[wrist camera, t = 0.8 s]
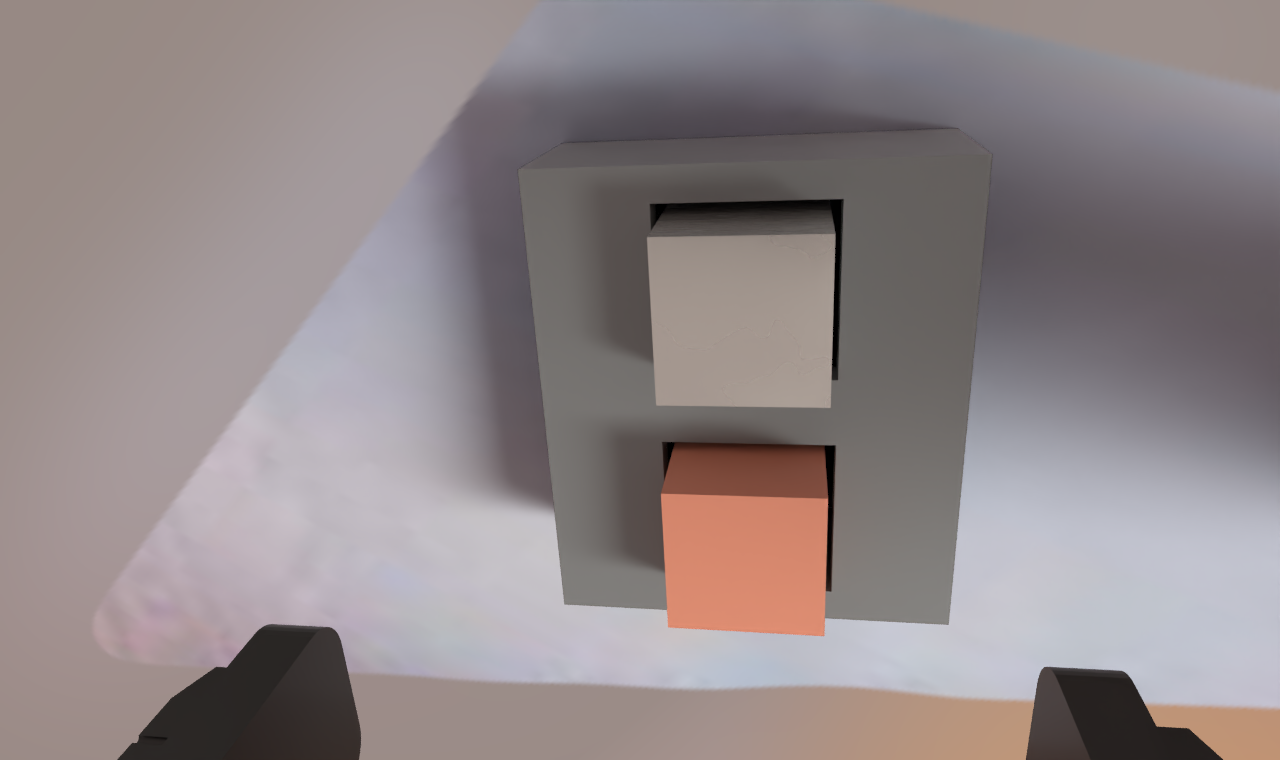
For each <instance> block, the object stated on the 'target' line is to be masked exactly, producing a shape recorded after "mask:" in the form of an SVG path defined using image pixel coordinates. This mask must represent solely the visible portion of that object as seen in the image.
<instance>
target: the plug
mask: <svg viewBox="0 0 1280 760" xmlns="http://www.w3.org/2000/svg"><path fill="white" fill-rule="evenodd" d="M647 248H648V266H649V284H650V303H651V321H652V339H653V358H654V376H655V394H656V405H658V406H730V407H802V408H831V378H832V342H833V306H834V270H835V228H834V223H833V217H832V212H831V206H830V201H829V199H821V200H781V201H741V202H701V203H668V205H667V207H666V208H665V210H664V211H663V213H662V214H661V216H660V218H659V219H658V221H657V222H656V224H655V225H654V227H653V229H652V230H651V232H650V233H649V235H648V236H647Z"/></svg>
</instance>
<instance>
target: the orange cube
mask: <svg viewBox="0 0 1280 760" xmlns="http://www.w3.org/2000/svg"><path fill="white" fill-rule="evenodd" d="M661 504H662V523H663V541H664V559H665V578H666V596H667V614H668V627H671V628H689V629H707V630H725V631H742V632H760V633H778V634H795V635H813V636H824V628H825V592H826V557H827V521H828V490H827V475H826V461H825V446H824V445H793V444H745V443H698V442H675V444H674V448H673V451H672V455H671V459H670V462H669V466H668V470H667V473H666V477H665V481H664V484H663V488H662V492H661Z"/></svg>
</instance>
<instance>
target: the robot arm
mask: <svg viewBox="0 0 1280 760" xmlns="http://www.w3.org/2000/svg"><path fill="white" fill-rule="evenodd" d="M360 747H361V731H360V725H359V720H358V715H357V711H356V707H355V702H354V697H353V693H352V689H351V684H350V680H349V675H348V671H347V666H346V662H345V657H344V653H343V648H342V644H341V640H340V638H339V635H338V634H337V632H336V631H335V630H334V629H332V628H330V627H316V626H296V625H277V624H270V625H266V626H264V627H262V628H261V629H259V630H258V631H257V632H256V633H255V634H254V636H253V637H252V638H251V639H250V640H249V642H248V643H247V644H246V645H245V646H244V648H243V649H242V650H241V651H240V652H239V654H238V655H237V656H236V657H235V658H234V660H233V661H232V662H231V663H230V664H229V666H228V667H227V668H224V667H216V668H214V669H213V670H211V671H210V672H208V673H207V674H205V675H204V676H203V677H201V678H200V679H198V680H197V681H195V682H194V683H193V684H191V685H190V686H188V687H187V688H185V689H184V690H182V691H181V692H180V693H178V694H177V695H175V696H174V697H172V698H171V699H170V700H169V702H168V703H167V704H166V705H165V706H164V707H163V709H162V710H161V711H160V712H159V713H158V714H157V715H156V716H155V718H154V719H153V720H152V721H151V722H150V723H149V724H148V726H147V727H146V728H145V729H144V730H143V731H142V732H141V734H140V735H139V740H138V742H137V743H132V744H131V745H130V746H129V747H128V748H127V749H126V751H125V752H124V753H123V754H122V755H121V756H120V757H119V759H118V760H359V755H360ZM1026 760H1223V759H1222V758H1221V757H1220V756H1219V755H1217V754H1216V753H1215V752H1214V751H1213V750H1212V749H1211V748H1210V747H1208V746H1207V745H1206V744H1205V743H1204V742H1203V741H1202V740H1200V739H1199V738H1198V737H1197V736H1196V735H1195V734H1194V733H1193V732H1192V731H1191V730H1190V729H1187V728H1171V727H1170V728H1169V727H1157V726H1156V725H1155V723H1154V721H1153V719H1152V717H1151V715H1150V713H1149V711H1148V709H1147V708H1146V706H1145V704H1144V702H1143V700H1142V698H1141V696H1140V694H1139V692H1138V690H1137V689H1136V687H1135V685H1134V683H1133V681H1132V680H1131V678H1130V677H1129V676H1128V675H1127V674H1126V673H1125V672H1123V671H1116V670H1097V669H1078V668H1059V667H1044V668H1043V669H1042V670H1041V672H1040V675H1039V678H1038V683H1037V689H1036V695H1035V702H1034V709H1033V716H1032V722H1031V729H1030V736H1029V743H1028V749H1027V756H1026Z"/></svg>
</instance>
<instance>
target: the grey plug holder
mask: <svg viewBox="0 0 1280 760" xmlns="http://www.w3.org/2000/svg"><path fill="white" fill-rule="evenodd" d="M991 164H992V153H990V152H989V151H988V150H986V149H985V148H984V147H982V146H981V145H980V144H978V143H977V142H976V141H974V140H973V139H972V138H970V137H969V136H968V135H966V134H965V133H964V132H962V131H961V130H960V129H958V128H951V129H924V130H897V131H870V132H844V133H817V134H790V135H763V136H737V137H710V138H683V139H656V140H629V141H603V142H576V143H562V144H560V145H558V146H556V147H555V148H553V149H551V150H550V151H548V152H546V153H545V154H543V155H541V156H540V157H538V158H536V159H534V160H533V161H531V162H529V163H528V164H526V165H524V166H523V167H521V168H519V169H518V178H519V187H520V197H521V206H522V215H523V224H524V234H525V243H526V252H527V261H528V271H529V280H530V289H531V299H532V308H533V317H534V326H535V336H536V345H537V354H538V363H539V373H540V382H541V391H542V400H543V410H544V419H545V428H546V437H547V447H548V456H549V465H550V475H551V484H552V493H553V502H554V512H555V521H556V530H557V539H558V549H559V558H560V567H561V576H562V586H563V595H564V604H567V605H586V606H605V607H624V608H643V609H661V610H667V596H666V578H665V559H664V541H663V523H662V504H661V492H662V488H663V484H664V481H665V477H666V473H667V470H668V447H667V442H698V443H745V444H793V445H834V468H833V501H832V508H831V507H828V521H827V557H826V592H825V618H831V619H850V620H868V621H887V622H906V623H925V624H944V625H949V615H950V604H951V593H952V583H953V572H954V561H955V551H956V540H957V529H958V518H959V508H960V497H961V486H962V475H963V465H964V454H965V443H966V433H967V422H968V411H969V400H970V390H971V379H972V368H973V358H974V347H975V336H976V325H977V315H978V304H979V293H980V282H981V272H982V261H983V250H984V240H985V229H986V218H987V207H988V197H989V186H990V175H991ZM821 199H842V202H841V235H840V268H839V301H838V335H837V367H832V378H831V408H802V407H730V406H658V405H656V394H655V376H654V358H653V339H652V321H651V303H650V284H649V266H648V248H647V236H648V235H649V233H650V232H651V230H652V229H653V227H654V225H655V224H656V208H655V204H661V203H701V202H741V201H781V200H821Z"/></svg>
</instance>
